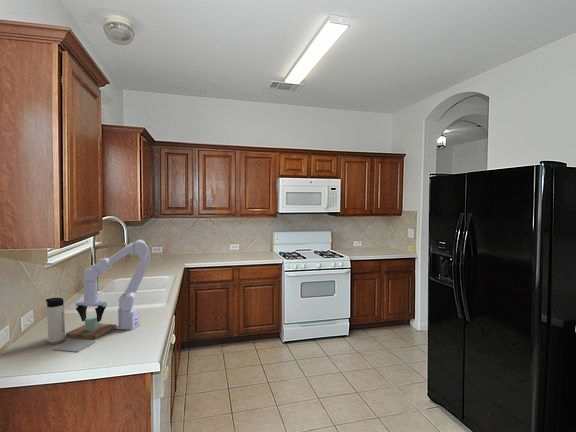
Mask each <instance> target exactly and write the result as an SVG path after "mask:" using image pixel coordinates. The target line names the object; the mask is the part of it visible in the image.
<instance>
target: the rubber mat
mask: <svg viewBox="0 0 576 432" xmlns="http://www.w3.org/2000/svg"><path fill="white" fill-rule="evenodd" d="M95 343H96V340H86V339H85V340H84V339H74V338H73V339H69V340H68V341H66V342H64V343H62V344H59V345H58V346H56V347H55V348H53V349H52V350H53V351H59V352H61V351H62V352H69V353H70V352H71V353H72V352H73V353H79V352H81V351H83V350H85V349H86V348H88V347H90V346H92V345H94V344H95Z"/></svg>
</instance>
